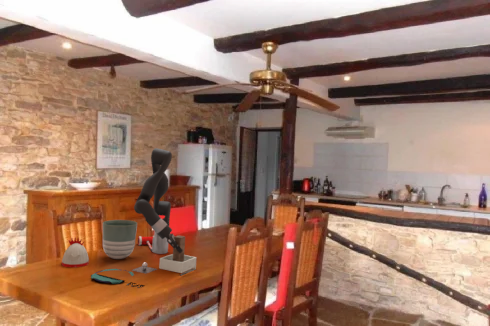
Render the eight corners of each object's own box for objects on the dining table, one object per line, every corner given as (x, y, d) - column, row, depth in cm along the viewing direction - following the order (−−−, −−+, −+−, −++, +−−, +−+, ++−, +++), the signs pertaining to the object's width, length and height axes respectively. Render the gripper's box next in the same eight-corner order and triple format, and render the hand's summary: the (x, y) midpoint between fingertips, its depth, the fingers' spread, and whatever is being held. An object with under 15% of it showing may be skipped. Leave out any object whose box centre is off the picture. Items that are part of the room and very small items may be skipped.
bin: (159, 271, 222) (159, 258, 222) (174, 265, 235) (175, 253, 235) (181, 275, 216) (182, 262, 216) (195, 269, 229) (196, 257, 229)
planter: (125, 252, 256) (127, 218, 256) (141, 259, 242) (143, 224, 242) (94, 256, 242) (96, 221, 242) (110, 264, 228) (112, 226, 228)
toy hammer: (161, 251, 265) (162, 242, 265) (143, 252, 261) (144, 242, 260) (154, 243, 286) (154, 234, 286) (137, 244, 281) (137, 235, 281)
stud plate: (130, 272, 216) (131, 262, 215) (142, 268, 225) (143, 258, 224) (145, 276, 211) (146, 266, 211) (157, 271, 220) (158, 262, 220)
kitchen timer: (64, 260, 231) (65, 234, 230) (89, 260, 234) (91, 234, 234) (59, 267, 217) (61, 240, 217) (86, 267, 221) (88, 240, 220)
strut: (172, 263, 225) (174, 236, 224) (176, 261, 229) (178, 235, 228) (179, 264, 223) (180, 237, 222) (183, 263, 227) (185, 236, 226)
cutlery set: (109, 270, 218) (109, 266, 218) (157, 280, 209) (158, 275, 208) (83, 281, 199) (83, 276, 199) (135, 292, 190) (135, 287, 190)
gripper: (165, 226, 217) (186, 249, 219) (167, 221, 231) (187, 243, 233) (155, 235, 217) (176, 258, 218) (157, 230, 231) (177, 251, 233)
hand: (181, 250), depth 226 cm, fingers closed on strut, 6 cm apart
